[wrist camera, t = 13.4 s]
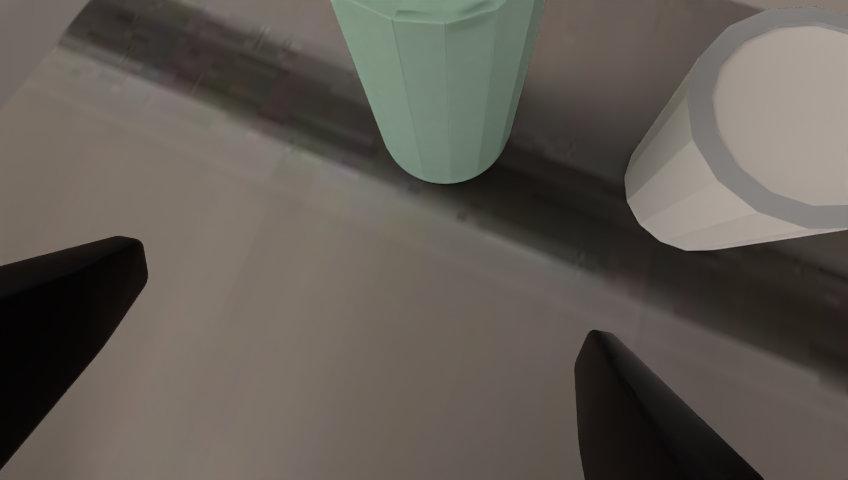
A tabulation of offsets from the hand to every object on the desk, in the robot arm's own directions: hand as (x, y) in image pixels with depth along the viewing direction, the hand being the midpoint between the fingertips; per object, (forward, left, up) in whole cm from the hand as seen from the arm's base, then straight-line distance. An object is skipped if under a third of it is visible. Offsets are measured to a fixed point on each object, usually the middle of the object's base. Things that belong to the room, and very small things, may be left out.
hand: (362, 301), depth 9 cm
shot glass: (-1, -13, -11) cm, 17 cm away
